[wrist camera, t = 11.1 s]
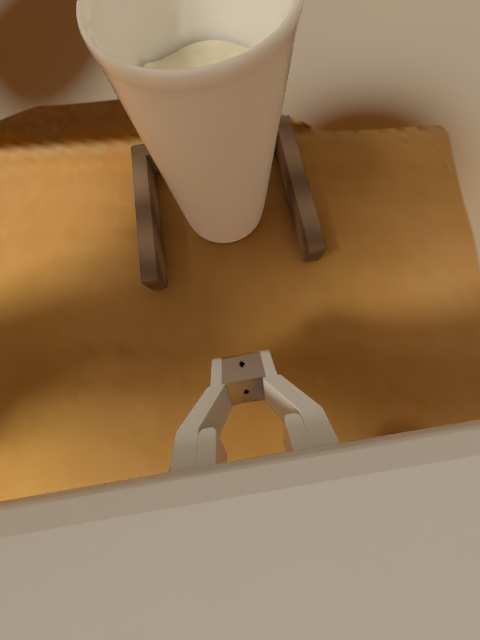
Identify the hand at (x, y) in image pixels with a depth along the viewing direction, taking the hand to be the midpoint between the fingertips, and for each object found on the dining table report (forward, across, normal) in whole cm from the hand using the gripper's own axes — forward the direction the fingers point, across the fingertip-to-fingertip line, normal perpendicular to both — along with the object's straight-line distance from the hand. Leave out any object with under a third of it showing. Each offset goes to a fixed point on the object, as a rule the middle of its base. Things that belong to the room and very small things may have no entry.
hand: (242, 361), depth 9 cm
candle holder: (+16, -1, -6) cm, 17 cm away
